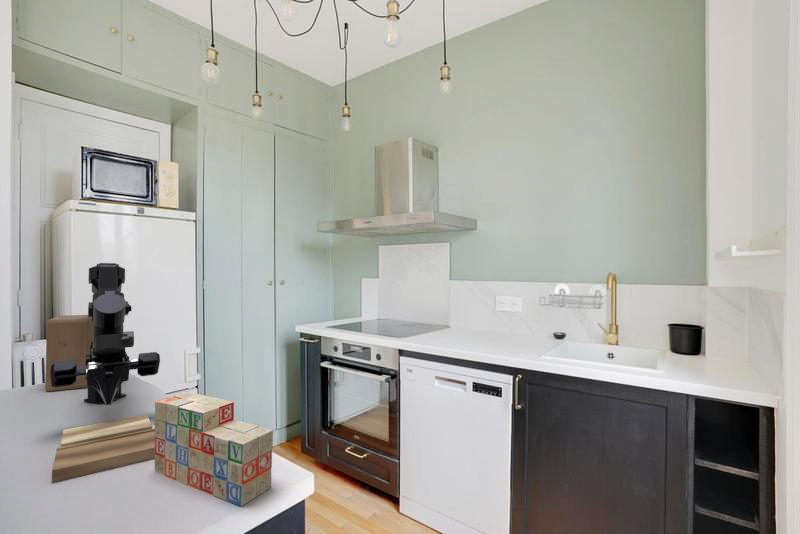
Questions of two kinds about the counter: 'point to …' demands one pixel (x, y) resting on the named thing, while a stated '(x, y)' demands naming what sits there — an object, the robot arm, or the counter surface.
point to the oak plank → (105, 430)
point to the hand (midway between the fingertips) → (108, 403)
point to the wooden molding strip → (103, 454)
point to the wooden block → (68, 345)
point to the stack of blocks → (212, 447)
